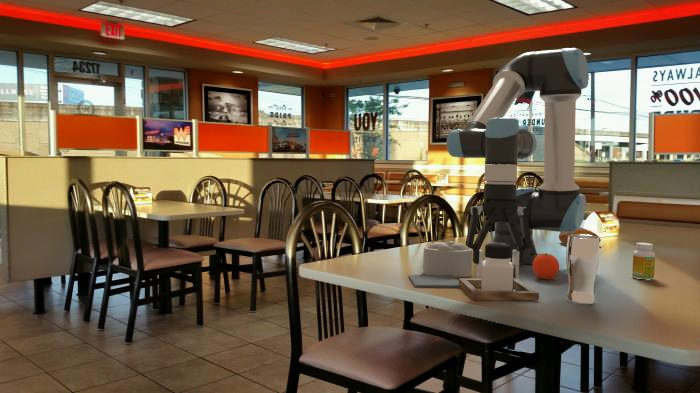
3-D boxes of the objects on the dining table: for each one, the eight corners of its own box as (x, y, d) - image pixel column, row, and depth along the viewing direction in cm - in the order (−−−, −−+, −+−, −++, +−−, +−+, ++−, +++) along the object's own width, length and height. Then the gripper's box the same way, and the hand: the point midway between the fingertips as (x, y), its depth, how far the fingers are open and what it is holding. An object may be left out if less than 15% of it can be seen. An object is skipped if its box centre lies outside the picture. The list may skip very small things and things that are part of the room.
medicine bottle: (513, 297, 134) (514, 246, 133) (481, 295, 135) (483, 244, 134) (510, 290, 141) (512, 242, 140) (481, 288, 142) (482, 240, 141)
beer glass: (558, 297, 134) (561, 234, 133) (587, 297, 134) (590, 234, 133) (572, 305, 127) (575, 238, 126) (603, 305, 127) (606, 238, 126)
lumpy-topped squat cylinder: (431, 268, 168) (431, 239, 167) (475, 272, 163) (476, 242, 162) (420, 274, 159) (421, 243, 158) (466, 279, 153) (467, 247, 153)
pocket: (517, 285, 145) (517, 278, 145) (538, 300, 131) (538, 292, 130) (458, 285, 145) (459, 278, 145) (473, 300, 130) (473, 292, 130)
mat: (452, 277, 154) (452, 275, 154) (463, 287, 142) (463, 285, 142) (408, 277, 154) (408, 275, 154) (415, 287, 142) (415, 285, 142)
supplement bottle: (645, 281, 154) (647, 245, 153) (627, 277, 158) (629, 242, 158) (658, 279, 156) (660, 244, 155) (640, 275, 161) (642, 241, 160)
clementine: (523, 276, 158) (524, 251, 157) (543, 274, 160) (544, 249, 160) (544, 282, 150) (545, 255, 150) (564, 280, 153) (565, 254, 153)
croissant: (562, 253, 213) (563, 232, 212) (555, 241, 228) (556, 222, 226) (603, 253, 211) (605, 232, 209) (593, 241, 226) (594, 222, 224)
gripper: (537, 182, 140) (534, 274, 142) (453, 181, 139) (450, 273, 141) (549, 184, 133) (545, 281, 134) (460, 183, 132) (457, 280, 133)
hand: (497, 277), depth 137 cm, fingers closed on medicine bottle, 8 cm apart
